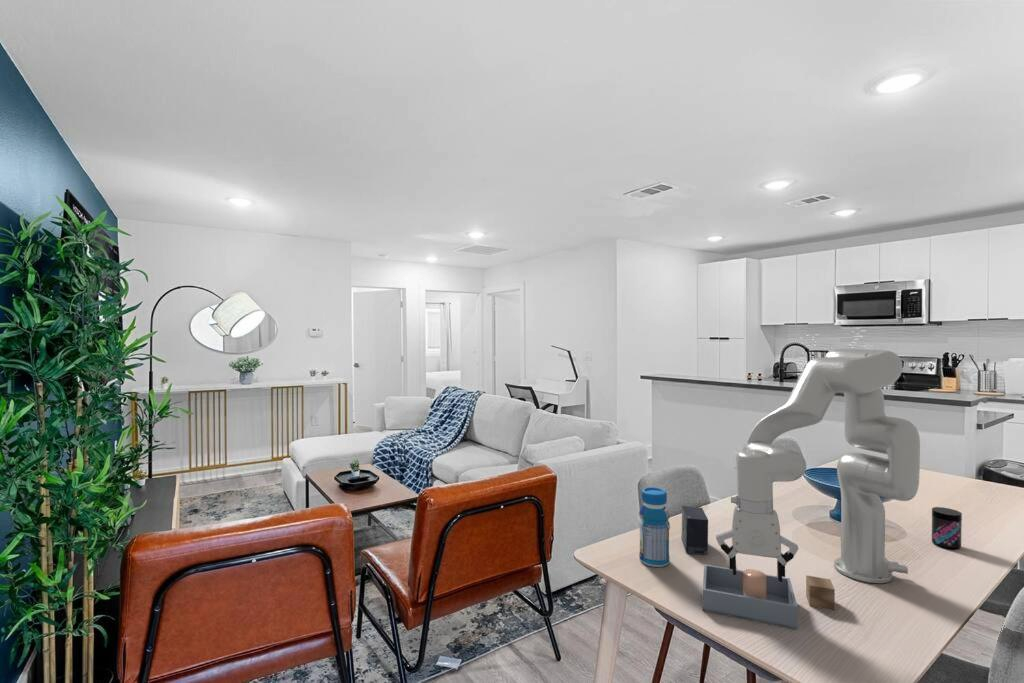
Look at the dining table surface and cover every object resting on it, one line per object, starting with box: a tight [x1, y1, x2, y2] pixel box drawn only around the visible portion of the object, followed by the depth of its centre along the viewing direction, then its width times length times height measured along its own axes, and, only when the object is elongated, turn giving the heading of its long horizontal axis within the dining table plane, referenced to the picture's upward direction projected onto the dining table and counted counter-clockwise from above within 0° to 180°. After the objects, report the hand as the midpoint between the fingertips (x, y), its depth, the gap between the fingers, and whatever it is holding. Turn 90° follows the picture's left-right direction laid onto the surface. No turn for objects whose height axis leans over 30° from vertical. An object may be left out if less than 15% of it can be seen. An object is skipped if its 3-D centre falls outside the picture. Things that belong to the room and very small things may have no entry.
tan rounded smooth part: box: [742, 568, 767, 600], centre depth 116 cm, size 5×5×7 cm
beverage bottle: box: [638, 486, 671, 568], centre depth 139 cm, size 8×8×20 cm
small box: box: [680, 505, 709, 556], centre depth 148 cm, size 11×6×10 cm, turn 169°
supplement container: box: [931, 506, 963, 551], centre depth 147 cm, size 7×7×10 cm
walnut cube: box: [805, 575, 836, 611], centre depth 117 cm, size 5×5×5 cm
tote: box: [702, 563, 799, 631], centre depth 117 cm, size 19×13×5 cm
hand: (756, 575), depth 116 cm, fingers open, 9 cm apart
